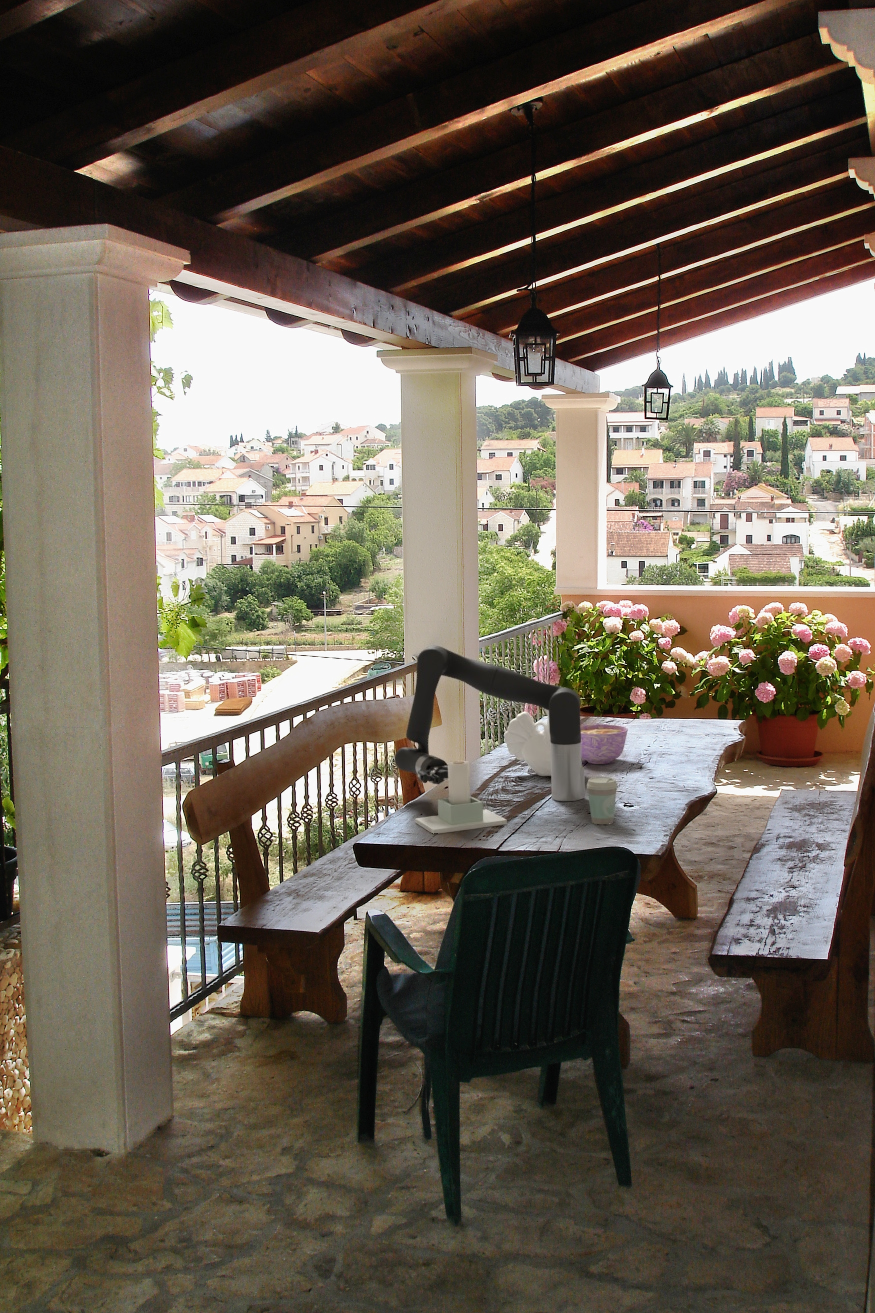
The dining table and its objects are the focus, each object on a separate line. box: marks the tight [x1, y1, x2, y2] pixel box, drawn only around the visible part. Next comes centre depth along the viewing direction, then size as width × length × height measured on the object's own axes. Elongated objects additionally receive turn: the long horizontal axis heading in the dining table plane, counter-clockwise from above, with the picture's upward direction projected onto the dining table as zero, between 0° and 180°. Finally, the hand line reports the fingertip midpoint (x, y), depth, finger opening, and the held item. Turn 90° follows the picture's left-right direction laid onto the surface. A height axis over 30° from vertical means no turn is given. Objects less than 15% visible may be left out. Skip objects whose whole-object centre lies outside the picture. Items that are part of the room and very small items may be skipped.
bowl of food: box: [580, 723, 629, 765], centre depth 390 cm, size 20×20×12 cm
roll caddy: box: [414, 795, 508, 835], centre depth 312 cm, size 22×14×6 cm, turn 112°
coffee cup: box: [585, 776, 618, 825], centre depth 308 cm, size 8×8×12 cm
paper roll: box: [447, 760, 471, 805], centre depth 311 cm, size 6×6×16 cm
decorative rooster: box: [503, 709, 551, 777], centre depth 373 cm, size 25×16×25 cm, turn 59°
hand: (452, 779), depth 315 cm, fingers open, 8 cm apart
